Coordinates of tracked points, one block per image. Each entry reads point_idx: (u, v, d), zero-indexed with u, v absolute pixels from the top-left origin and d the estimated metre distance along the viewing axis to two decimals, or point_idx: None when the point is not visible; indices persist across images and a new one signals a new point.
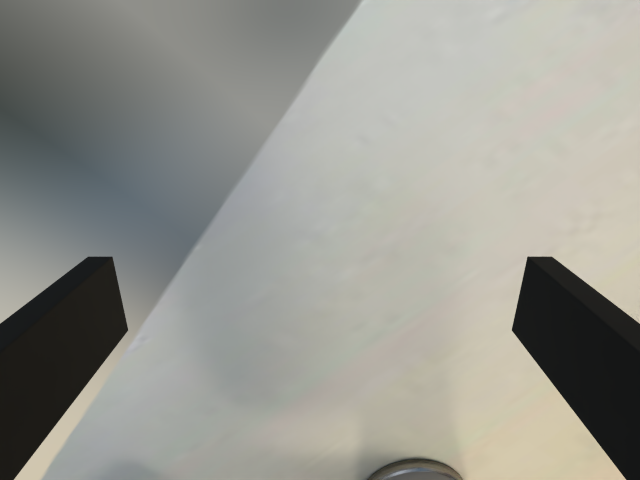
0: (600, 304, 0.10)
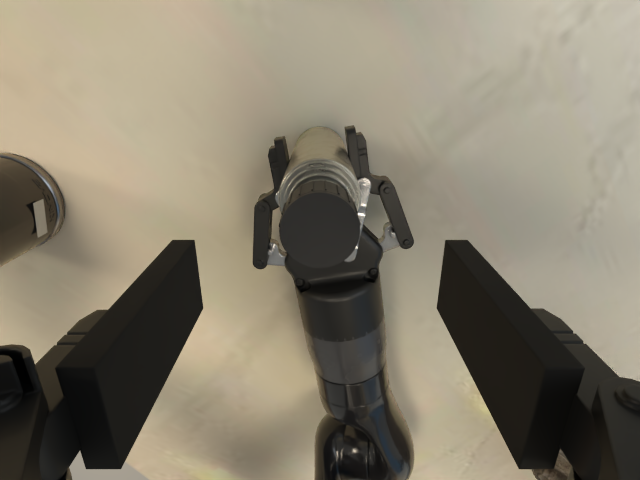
0: (490, 278, 0.11)
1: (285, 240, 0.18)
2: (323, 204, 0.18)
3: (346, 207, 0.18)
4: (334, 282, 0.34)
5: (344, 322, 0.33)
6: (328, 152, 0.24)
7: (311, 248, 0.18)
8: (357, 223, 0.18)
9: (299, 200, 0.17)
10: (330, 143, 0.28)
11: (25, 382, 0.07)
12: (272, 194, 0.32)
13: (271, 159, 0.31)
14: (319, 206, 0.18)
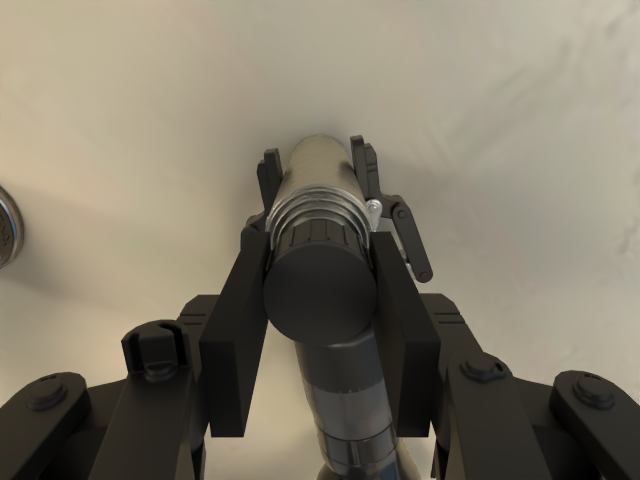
0: (394, 265, 0.12)
1: (270, 309, 0.13)
2: (325, 261, 0.12)
3: (358, 265, 0.12)
4: None
5: (349, 371, 0.27)
6: (330, 173, 0.19)
7: (307, 320, 0.13)
8: (374, 287, 0.12)
9: (290, 255, 0.12)
10: (333, 158, 0.22)
11: (179, 356, 0.08)
12: (262, 218, 0.26)
13: (260, 176, 0.25)
14: (319, 263, 0.12)
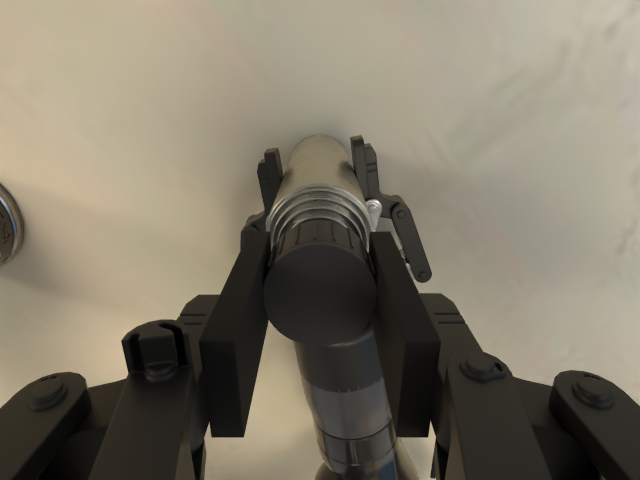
0: (394, 265, 0.12)
1: (358, 325, 0.13)
2: (284, 316, 0.13)
3: (267, 291, 0.12)
4: None
5: (348, 370, 0.27)
6: (331, 173, 0.19)
7: (347, 293, 0.13)
8: (275, 267, 0.12)
9: (299, 341, 0.13)
10: (333, 158, 0.23)
11: (179, 355, 0.08)
12: (262, 217, 0.26)
13: (261, 176, 0.25)
14: (290, 318, 0.13)
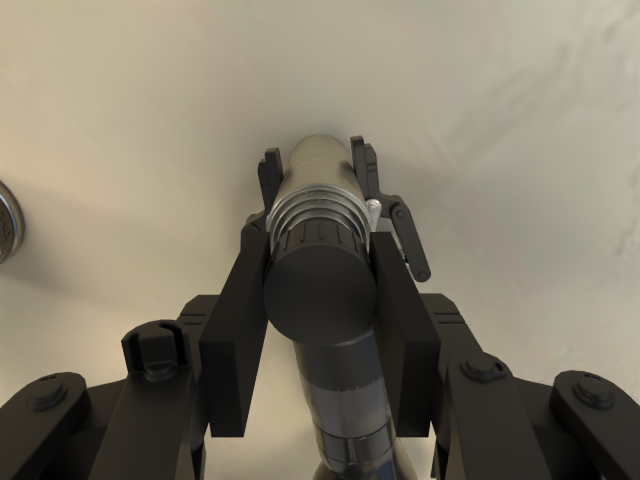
0: (394, 265, 0.12)
1: (321, 251, 0.12)
2: (357, 313, 0.13)
3: (343, 337, 0.13)
4: None
5: (347, 369, 0.27)
6: (331, 173, 0.19)
7: (298, 281, 0.12)
8: (317, 344, 0.13)
9: (374, 287, 0.12)
10: (333, 158, 0.23)
11: (179, 356, 0.08)
12: (262, 216, 0.26)
13: (261, 175, 0.25)
14: (356, 307, 0.13)
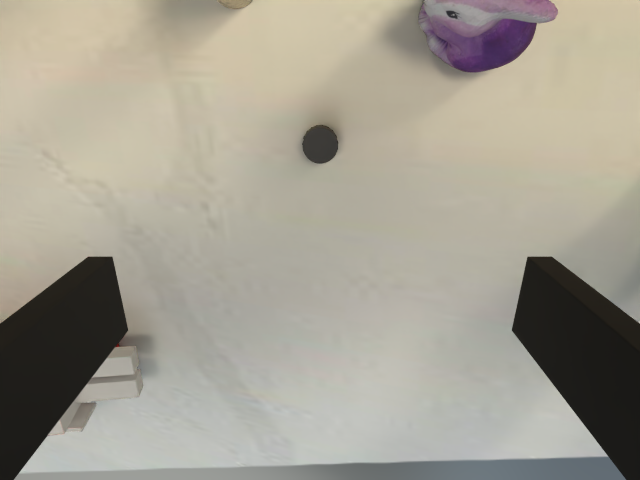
0: (600, 304, 0.10)
1: (307, 154, 0.42)
2: (317, 133, 0.41)
3: (327, 131, 0.41)
4: None
5: None
6: None
7: (319, 154, 0.42)
8: (334, 136, 0.41)
9: (307, 135, 0.41)
10: None
11: None
12: None
13: None
14: (316, 134, 0.41)
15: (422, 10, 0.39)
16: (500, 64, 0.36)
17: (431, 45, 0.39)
